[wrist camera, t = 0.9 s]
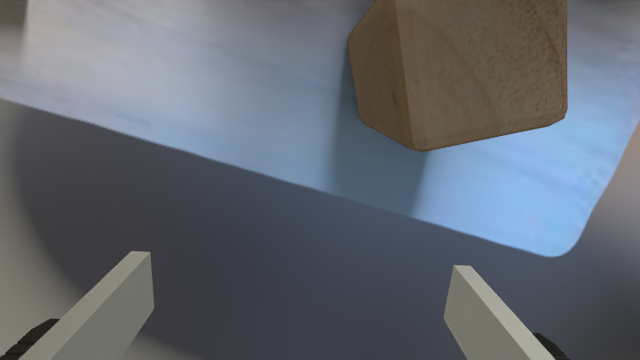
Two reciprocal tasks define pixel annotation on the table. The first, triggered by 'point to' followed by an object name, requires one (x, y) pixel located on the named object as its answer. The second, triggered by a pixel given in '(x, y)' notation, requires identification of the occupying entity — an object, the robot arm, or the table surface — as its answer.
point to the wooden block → (459, 69)
